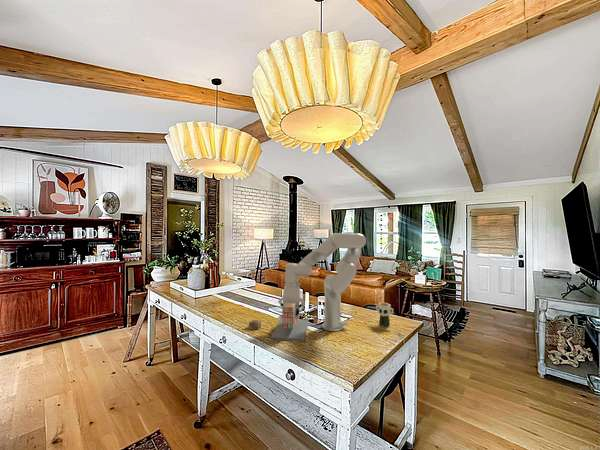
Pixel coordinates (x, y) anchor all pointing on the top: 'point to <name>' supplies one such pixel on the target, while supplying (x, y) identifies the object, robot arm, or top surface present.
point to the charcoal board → (291, 331)
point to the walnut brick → (254, 324)
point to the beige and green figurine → (384, 313)
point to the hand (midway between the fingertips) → (291, 314)
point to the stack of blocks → (289, 315)
